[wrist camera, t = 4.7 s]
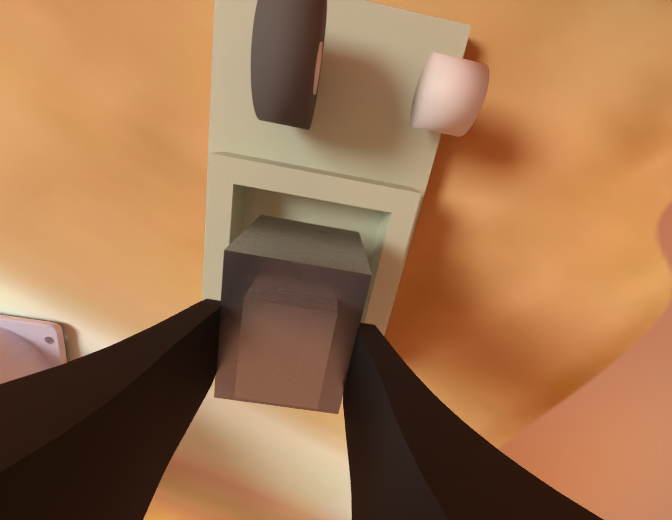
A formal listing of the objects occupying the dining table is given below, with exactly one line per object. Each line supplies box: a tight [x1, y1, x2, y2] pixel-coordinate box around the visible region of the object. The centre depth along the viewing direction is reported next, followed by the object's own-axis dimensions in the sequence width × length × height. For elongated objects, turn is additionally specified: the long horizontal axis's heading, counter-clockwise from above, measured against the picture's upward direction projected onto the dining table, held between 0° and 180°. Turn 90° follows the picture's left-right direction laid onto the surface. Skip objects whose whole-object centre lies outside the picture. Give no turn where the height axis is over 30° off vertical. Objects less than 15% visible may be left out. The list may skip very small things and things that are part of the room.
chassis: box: [202, 0, 489, 336], centre depth 14 cm, size 16×10×4 cm, turn 169°
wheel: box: [251, 0, 327, 130], centre depth 11 cm, size 4×2×4 cm, turn 170°
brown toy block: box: [214, 215, 372, 414], centre depth 11 cm, size 5×4×5 cm
